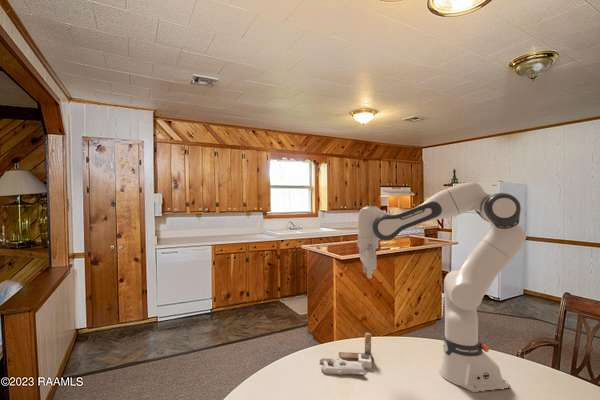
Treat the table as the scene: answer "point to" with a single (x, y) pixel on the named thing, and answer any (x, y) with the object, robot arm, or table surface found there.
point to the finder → (365, 360)
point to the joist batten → (351, 356)
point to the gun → (342, 366)
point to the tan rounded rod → (367, 344)
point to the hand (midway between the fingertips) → (367, 275)
